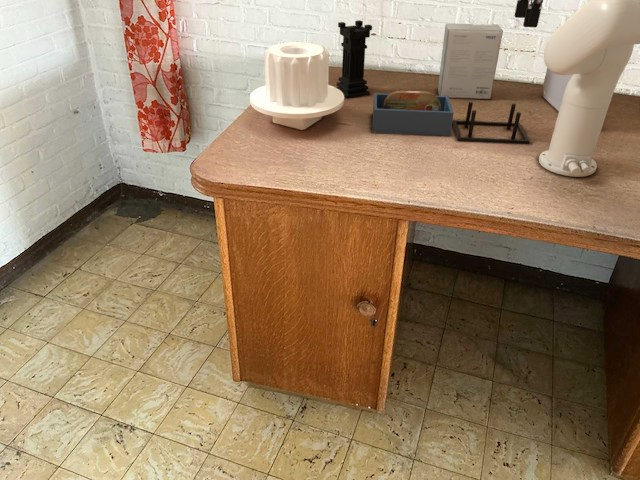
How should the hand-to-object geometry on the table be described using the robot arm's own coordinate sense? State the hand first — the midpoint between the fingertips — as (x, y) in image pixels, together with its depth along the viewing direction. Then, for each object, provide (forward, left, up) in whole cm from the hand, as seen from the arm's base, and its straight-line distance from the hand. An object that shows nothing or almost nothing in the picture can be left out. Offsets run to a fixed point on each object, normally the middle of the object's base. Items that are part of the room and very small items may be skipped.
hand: (525, 22), depth 133 cm
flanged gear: (-4, +56, -26) cm, 62 cm away
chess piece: (+20, +42, -26) cm, 54 cm away
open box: (-4, +26, -26) cm, 37 cm away
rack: (-7, +5, -26) cm, 28 cm away
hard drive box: (+22, +8, -26) cm, 35 cm away
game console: (+11, -20, -26) cm, 35 cm away
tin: (-4, +26, -26) cm, 36 cm away
